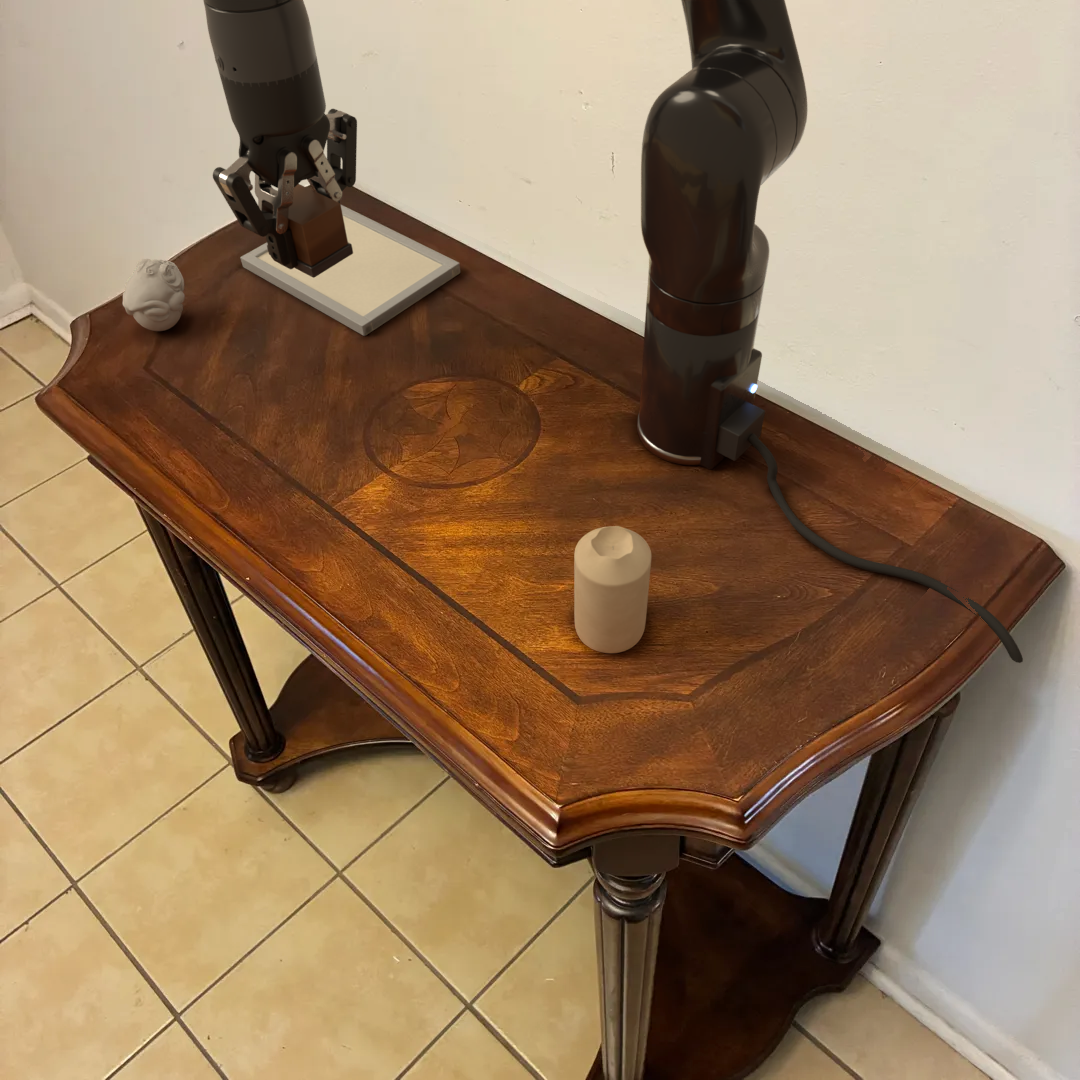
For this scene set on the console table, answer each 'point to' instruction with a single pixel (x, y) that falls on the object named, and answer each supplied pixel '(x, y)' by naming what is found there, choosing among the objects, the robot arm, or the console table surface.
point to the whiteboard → (363, 275)
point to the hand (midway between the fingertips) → (310, 250)
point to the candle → (611, 588)
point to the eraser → (317, 231)
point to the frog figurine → (155, 294)
